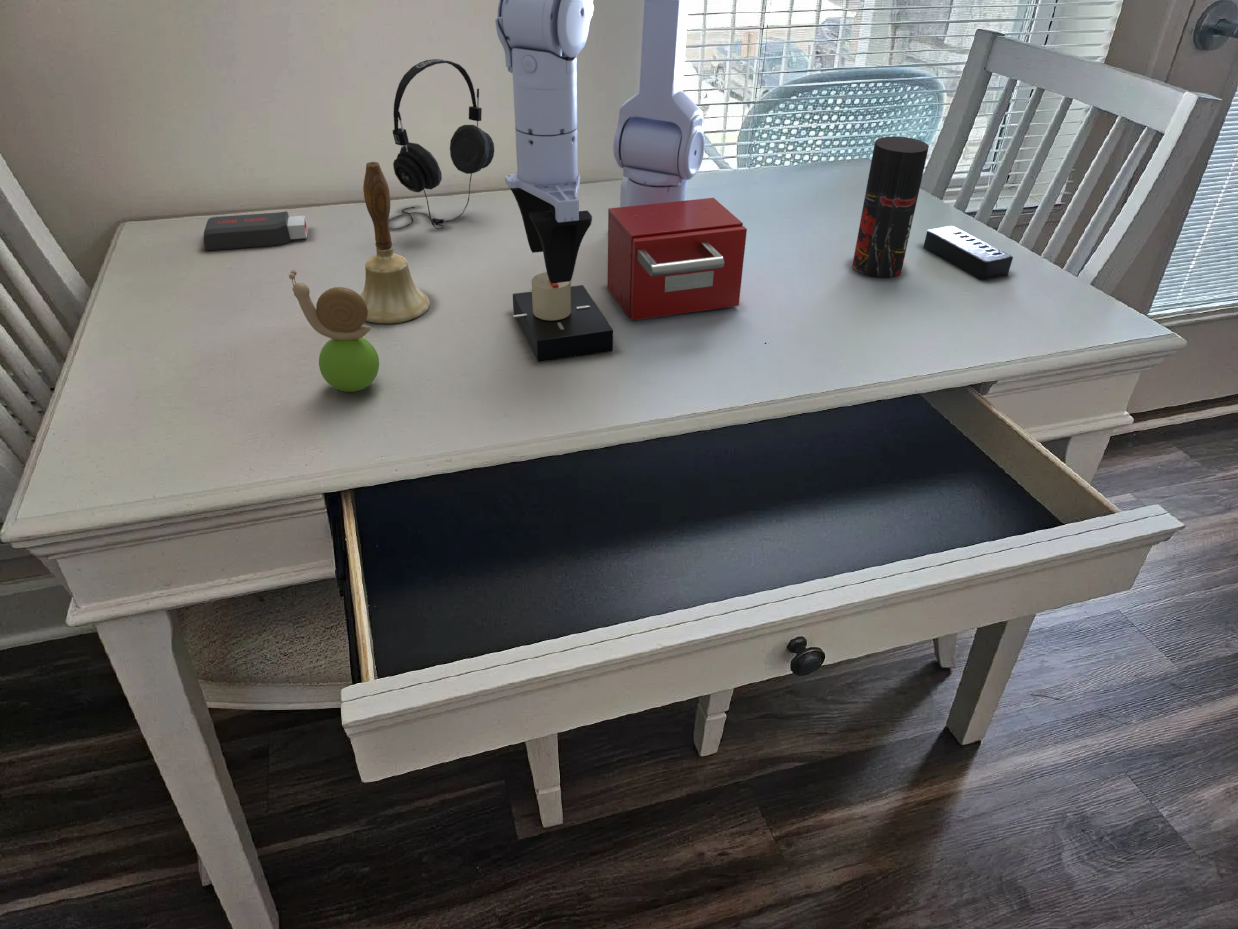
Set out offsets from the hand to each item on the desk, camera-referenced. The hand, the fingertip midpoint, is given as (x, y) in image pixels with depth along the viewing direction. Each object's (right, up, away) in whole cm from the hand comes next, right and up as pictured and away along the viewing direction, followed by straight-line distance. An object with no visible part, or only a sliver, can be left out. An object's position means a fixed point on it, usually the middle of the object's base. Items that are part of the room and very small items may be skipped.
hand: (550, 265), depth 90 cm
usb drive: (-39, +8, +24) cm, 46 cm away
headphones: (-18, +13, +30) cm, 37 cm away
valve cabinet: (+13, -1, +12) cm, 18 cm away
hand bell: (-18, -3, +9) cm, 21 cm away
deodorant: (+39, +4, +20) cm, 44 cm away
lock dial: (0, -4, +3) cm, 5 cm away
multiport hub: (+50, +5, +22) cm, 55 cm away
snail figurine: (-19, -13, -5) cm, 23 cm away
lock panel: (+1, -6, +5) cm, 8 cm away
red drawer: (+15, -5, +7) cm, 17 cm away
